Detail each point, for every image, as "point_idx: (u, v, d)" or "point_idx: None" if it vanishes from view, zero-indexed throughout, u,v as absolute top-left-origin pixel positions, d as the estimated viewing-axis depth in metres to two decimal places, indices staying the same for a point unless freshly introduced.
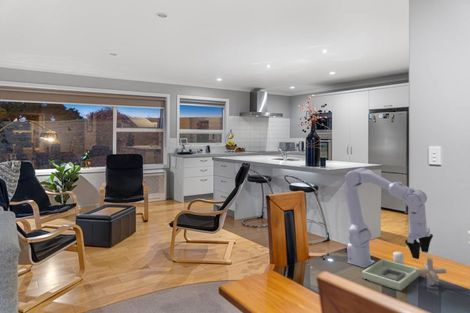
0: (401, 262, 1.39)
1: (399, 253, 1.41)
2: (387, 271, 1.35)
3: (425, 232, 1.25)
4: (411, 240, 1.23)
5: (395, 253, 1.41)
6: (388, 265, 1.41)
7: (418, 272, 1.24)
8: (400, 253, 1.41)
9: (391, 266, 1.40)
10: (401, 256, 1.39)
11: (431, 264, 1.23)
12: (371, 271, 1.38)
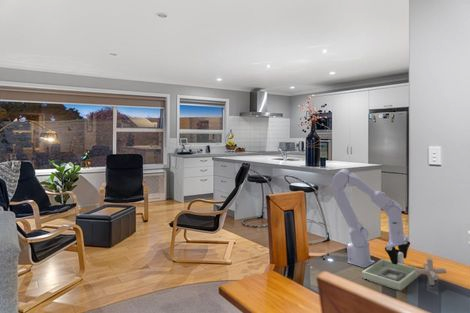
0: (401, 262, 1.39)
1: (399, 253, 1.41)
2: (387, 271, 1.35)
3: (402, 240, 1.38)
4: (390, 247, 1.36)
5: None
6: (388, 265, 1.41)
7: (418, 272, 1.24)
8: (400, 253, 1.41)
9: (391, 266, 1.40)
10: (401, 256, 1.39)
11: (431, 264, 1.23)
12: (371, 271, 1.38)
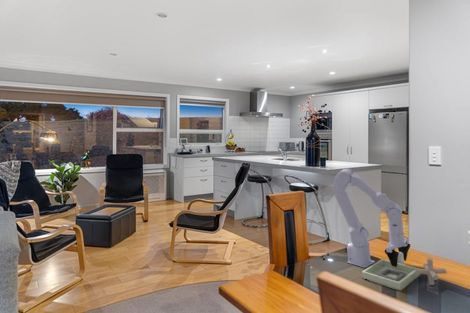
0: (401, 262, 1.39)
1: (399, 253, 1.41)
2: (387, 271, 1.35)
3: (402, 242, 1.38)
4: (390, 249, 1.36)
5: None
6: (388, 265, 1.41)
7: (418, 272, 1.24)
8: (400, 253, 1.41)
9: (391, 266, 1.40)
10: (401, 256, 1.39)
11: (431, 264, 1.23)
12: (371, 271, 1.38)
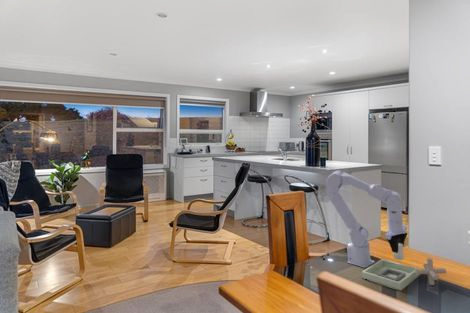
0: (401, 253, 1.39)
1: (399, 244, 1.41)
2: (387, 271, 1.35)
3: (401, 229, 1.38)
4: (388, 236, 1.35)
5: None
6: (388, 265, 1.41)
7: (418, 272, 1.24)
8: (400, 244, 1.40)
9: (391, 266, 1.40)
10: (401, 247, 1.39)
11: (431, 264, 1.23)
12: (371, 271, 1.38)
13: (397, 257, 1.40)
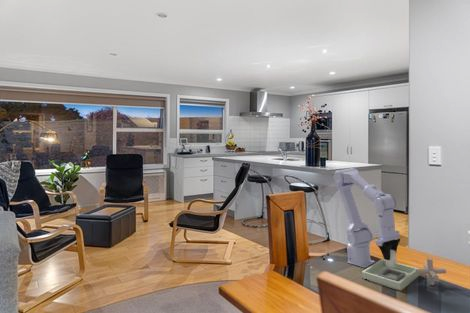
0: (393, 261, 1.29)
1: (391, 251, 1.31)
2: (387, 271, 1.35)
3: (393, 235, 1.28)
4: (379, 243, 1.26)
5: None
6: None
7: (418, 272, 1.24)
8: (392, 251, 1.30)
9: None
10: (393, 254, 1.29)
11: (431, 264, 1.23)
12: (371, 271, 1.38)
13: (389, 265, 1.30)
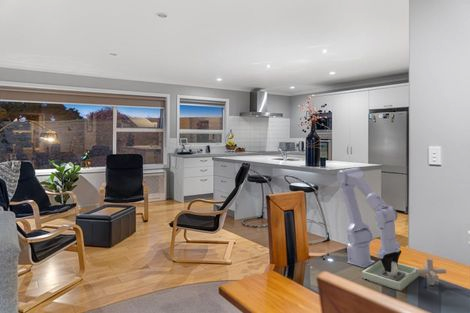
0: (394, 273, 1.30)
1: (392, 263, 1.31)
2: None
3: (395, 247, 1.28)
4: (381, 255, 1.26)
5: None
6: None
7: (418, 272, 1.24)
8: (393, 263, 1.31)
9: None
10: (394, 266, 1.29)
11: (431, 264, 1.23)
12: (371, 271, 1.38)
13: None
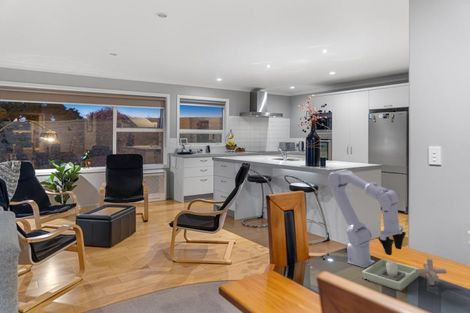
0: (394, 273, 1.30)
1: (392, 263, 1.31)
2: None
3: (397, 230, 1.32)
4: (383, 237, 1.30)
5: (388, 263, 1.32)
6: None
7: (418, 272, 1.24)
8: (393, 263, 1.31)
9: None
10: (394, 266, 1.29)
11: (431, 264, 1.23)
12: (371, 271, 1.38)
13: None
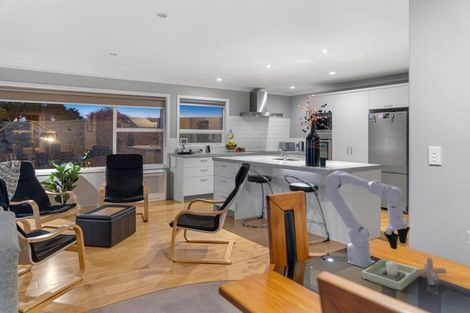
0: (394, 273, 1.30)
1: (392, 263, 1.31)
2: None
3: (402, 224, 1.36)
4: (389, 231, 1.34)
5: (388, 263, 1.32)
6: None
7: (418, 272, 1.24)
8: (393, 263, 1.31)
9: None
10: (394, 266, 1.29)
11: (431, 264, 1.23)
12: (371, 271, 1.38)
13: None
